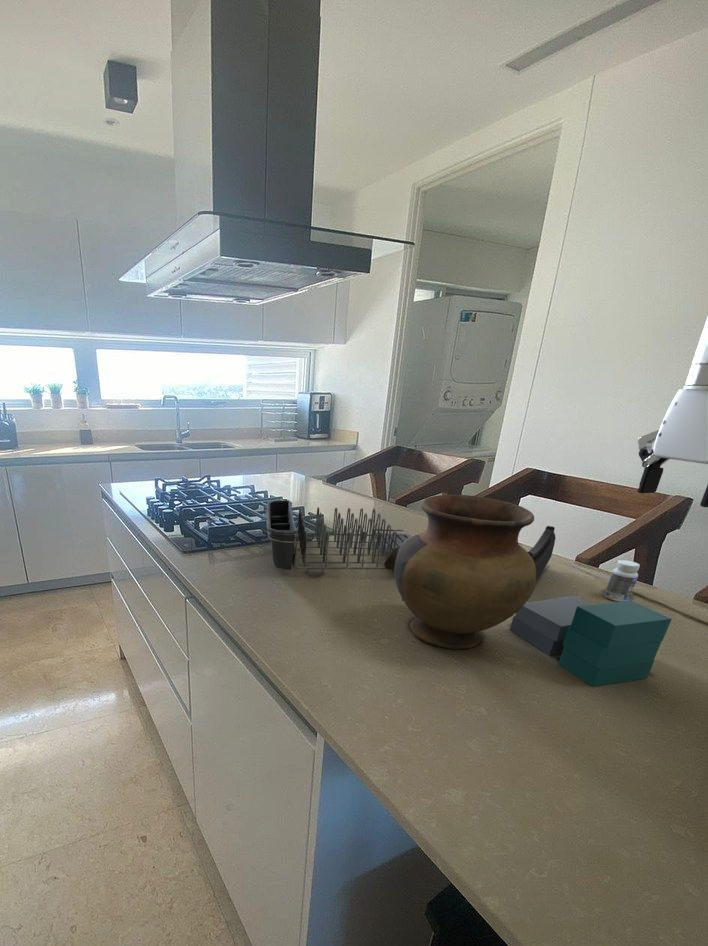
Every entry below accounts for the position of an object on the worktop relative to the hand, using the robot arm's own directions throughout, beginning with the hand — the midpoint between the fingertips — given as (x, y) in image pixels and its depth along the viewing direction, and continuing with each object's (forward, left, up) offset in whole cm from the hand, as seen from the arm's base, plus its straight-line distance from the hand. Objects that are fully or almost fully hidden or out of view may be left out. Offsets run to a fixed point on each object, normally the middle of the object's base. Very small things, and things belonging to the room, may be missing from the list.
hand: (676, 499), depth 76 cm
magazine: (-10, -33, -28) cm, 44 cm away
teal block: (+8, +4, -21) cm, 23 cm away
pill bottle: (-22, -20, -28) cm, 40 cm away
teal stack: (+8, +4, -28) cm, 29 cm away
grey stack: (+6, -7, -28) cm, 29 cm away
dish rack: (+28, -56, -28) cm, 69 cm away
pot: (+27, -13, -28) cm, 41 cm away
